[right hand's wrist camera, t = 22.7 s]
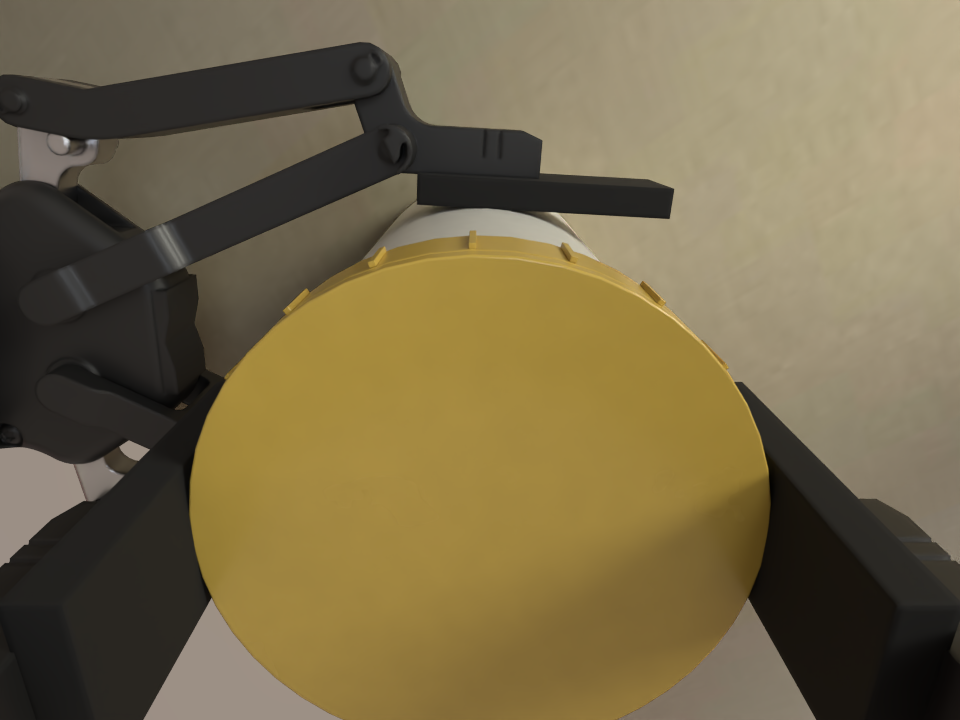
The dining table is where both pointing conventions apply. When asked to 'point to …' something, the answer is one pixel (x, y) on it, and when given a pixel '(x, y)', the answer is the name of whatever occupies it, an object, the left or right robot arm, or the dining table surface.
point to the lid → (479, 489)
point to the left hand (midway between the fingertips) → (634, 356)
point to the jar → (477, 226)
